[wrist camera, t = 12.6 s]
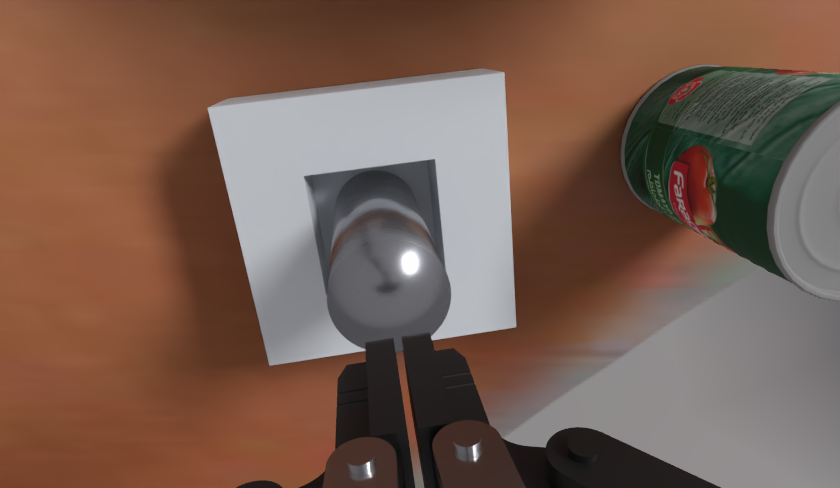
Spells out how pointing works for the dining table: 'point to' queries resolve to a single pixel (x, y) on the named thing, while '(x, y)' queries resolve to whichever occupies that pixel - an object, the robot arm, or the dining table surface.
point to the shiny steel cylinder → (383, 264)
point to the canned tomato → (746, 165)
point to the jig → (353, 154)
